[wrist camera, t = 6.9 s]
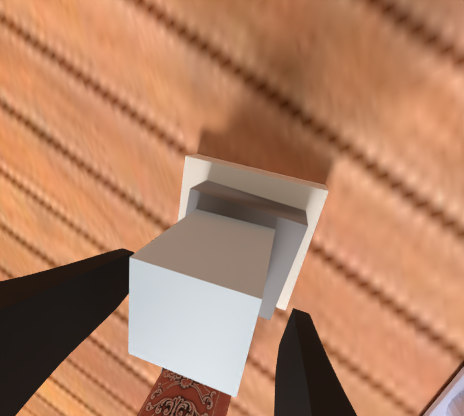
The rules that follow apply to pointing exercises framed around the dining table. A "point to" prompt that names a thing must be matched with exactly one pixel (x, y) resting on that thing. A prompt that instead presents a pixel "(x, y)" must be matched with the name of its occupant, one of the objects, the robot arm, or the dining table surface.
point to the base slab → (262, 185)
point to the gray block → (199, 297)
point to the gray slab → (261, 213)
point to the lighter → (183, 398)
